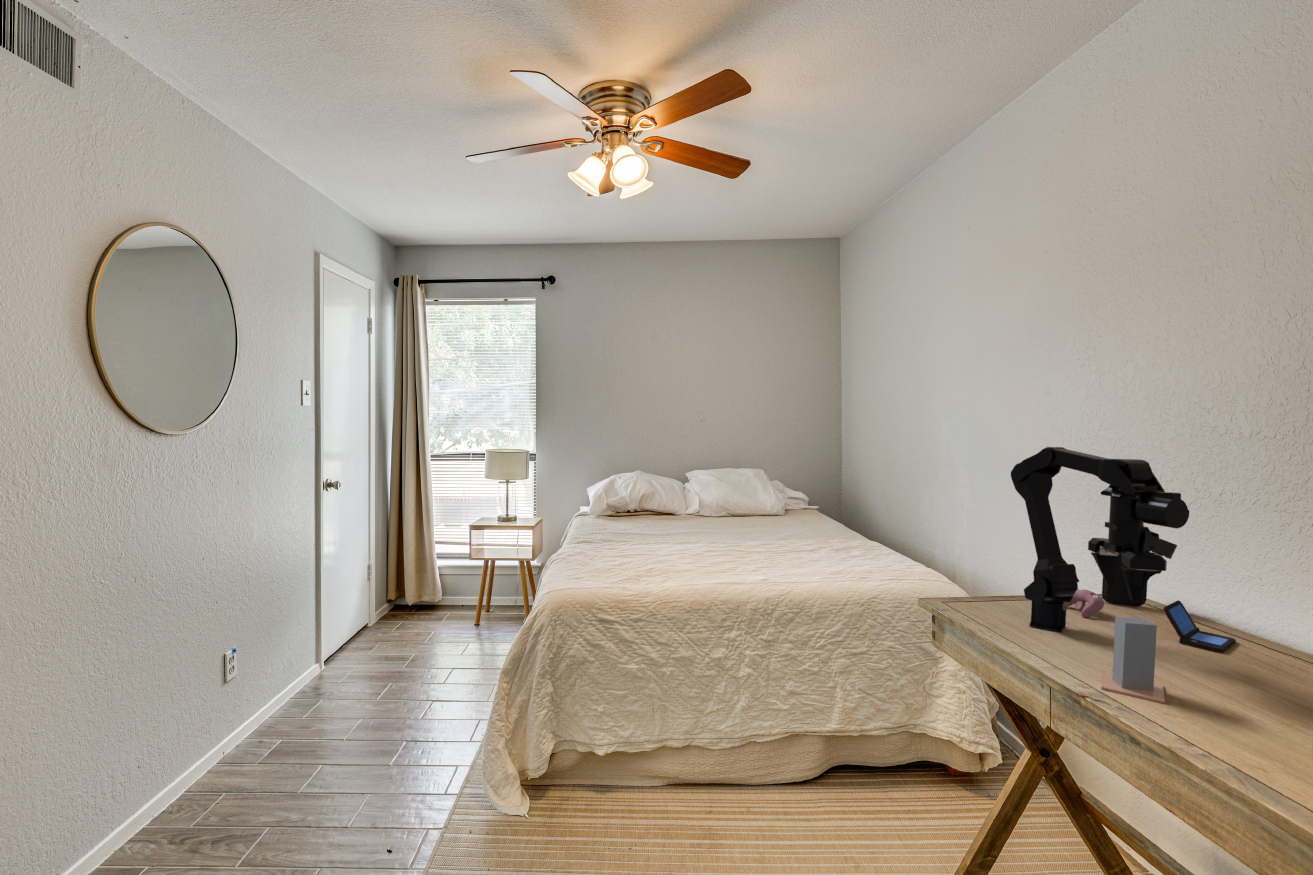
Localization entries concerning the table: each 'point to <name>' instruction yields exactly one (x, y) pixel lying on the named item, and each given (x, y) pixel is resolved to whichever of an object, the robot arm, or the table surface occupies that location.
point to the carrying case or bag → (1121, 592)
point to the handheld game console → (1195, 631)
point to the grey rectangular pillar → (1134, 653)
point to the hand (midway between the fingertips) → (1122, 594)
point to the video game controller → (1082, 598)
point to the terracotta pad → (1149, 695)
